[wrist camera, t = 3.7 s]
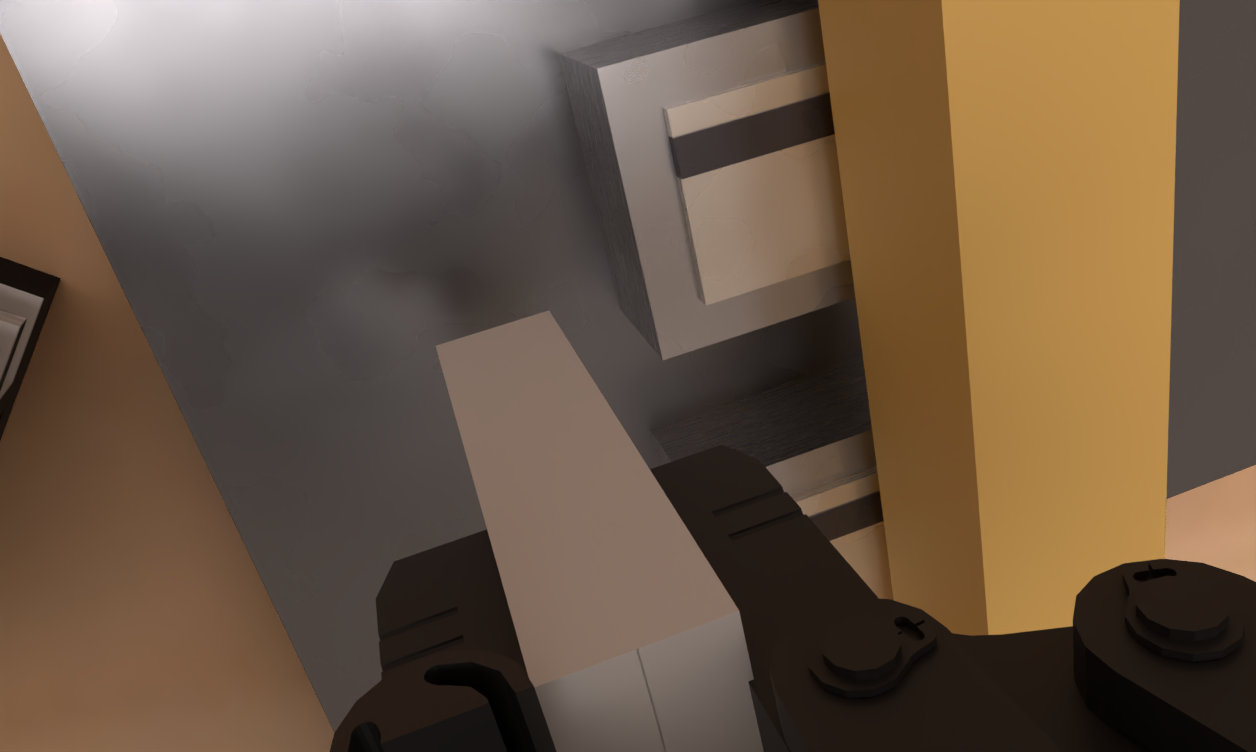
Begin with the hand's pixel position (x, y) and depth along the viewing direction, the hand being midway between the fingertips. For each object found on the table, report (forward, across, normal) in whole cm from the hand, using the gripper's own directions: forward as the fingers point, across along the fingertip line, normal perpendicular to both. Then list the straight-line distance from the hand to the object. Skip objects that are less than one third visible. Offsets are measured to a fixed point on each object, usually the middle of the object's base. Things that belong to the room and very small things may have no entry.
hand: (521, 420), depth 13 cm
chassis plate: (+5, +6, -1) cm, 8 cm away
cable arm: (+4, +7, -1) cm, 8 cm away
